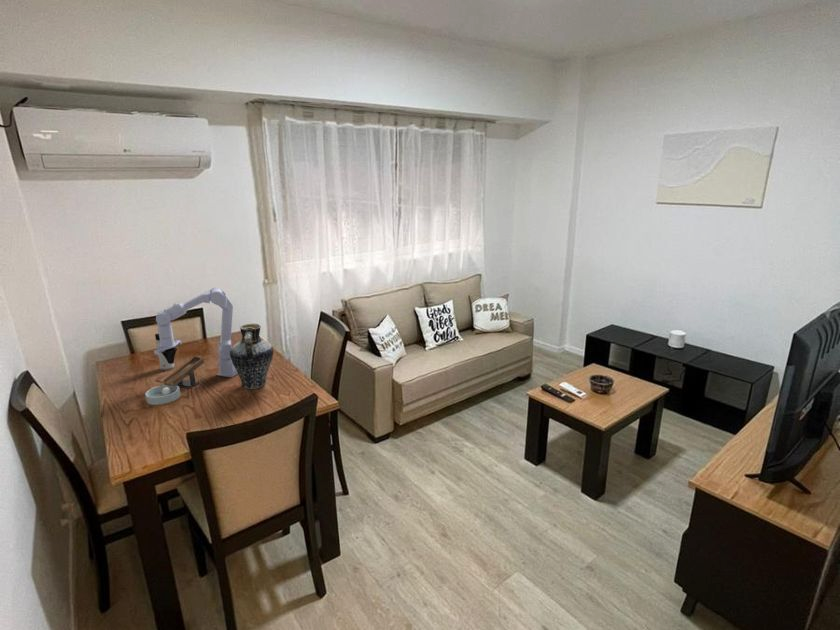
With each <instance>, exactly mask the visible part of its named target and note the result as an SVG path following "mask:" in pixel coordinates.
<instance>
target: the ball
mask: <svg viewBox="0 0 840 630" xmlns="http://www.w3.org/2000/svg"><path fill="white" fill-rule="evenodd" d="M170 392H171V389H170V388H168V387H165V388H163V390H162V393H163V394H164V395H168V394H170Z"/></svg>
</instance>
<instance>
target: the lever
mask: <svg viewBox="0 0 840 630" xmlns="http://www.w3.org/2000/svg"><path fill="white" fill-rule="evenodd" d="M204 364H205V360H204V358H203V357H202V355H201V356H200V355H193V356H192V358H190V359H189V360H187V361H186V362H185V363H184V364H183V365H182V364H181V366H180V367H178V368H177V369H176V370H175V371H173V372H171V373H170V372H163V373H161V374H160V375H159V376H158V377H156V378H155V379H154V383H160V384H163V385H170V386H176V385H177V384H178V383H179V382H181V381H182V380H185V378H187V377H188V376H189V373H190V372H192V371H193V372H194V371H196V370H197V369H198V368H200V367H201V366H202V365H204Z"/></svg>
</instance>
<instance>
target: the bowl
mask: <svg viewBox="0 0 840 630" xmlns="http://www.w3.org/2000/svg"><path fill="white" fill-rule="evenodd" d="M165 387H168V388H170V389H171V392H170V394H168V395H164V394H163V393H162V390H163V388H165ZM181 395H182V394H181V389H180V386H177V385H176V386H170V385H165V384H161V385H158V386H153V387H151V388H150V389H147V391H145V393H144V396H145V400H146V403H147V404H148V405H153V406H158V405H159V404H160V405H166V404H169V403H172V401H173V402H175V401H176V400H178V399H179V398H180V396H181ZM165 403H166V404H165Z"/></svg>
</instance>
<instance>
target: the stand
mask: <svg viewBox="0 0 840 630" xmlns="http://www.w3.org/2000/svg"><path fill="white" fill-rule="evenodd" d="M188 376H189V380H188V379H183V380H182V381H181V382H179V383H178V384H177V386H178V387H179V388H180V387H181V388H188V389H193V388H194V387H197V386H198V385H200V381H196V377H195V372H194V371H192V372H190V373H189V375H188Z"/></svg>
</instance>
